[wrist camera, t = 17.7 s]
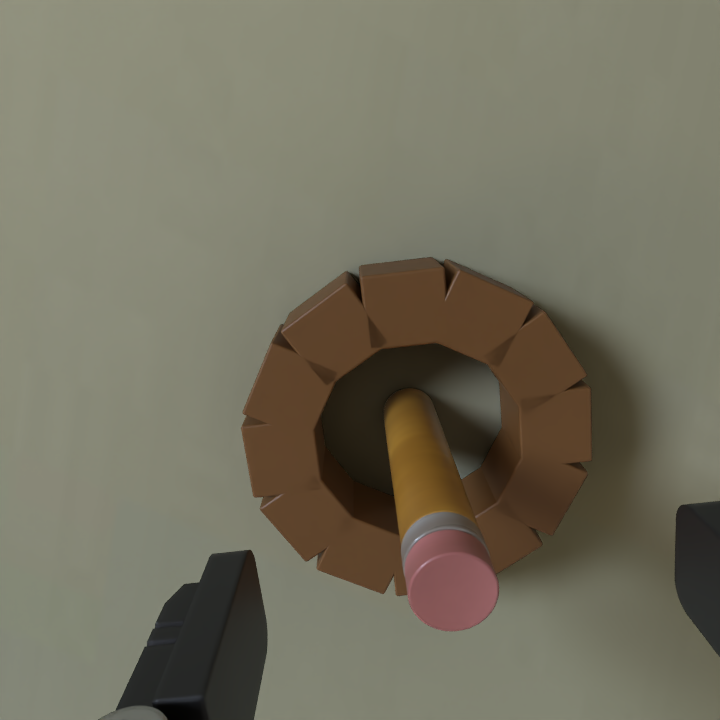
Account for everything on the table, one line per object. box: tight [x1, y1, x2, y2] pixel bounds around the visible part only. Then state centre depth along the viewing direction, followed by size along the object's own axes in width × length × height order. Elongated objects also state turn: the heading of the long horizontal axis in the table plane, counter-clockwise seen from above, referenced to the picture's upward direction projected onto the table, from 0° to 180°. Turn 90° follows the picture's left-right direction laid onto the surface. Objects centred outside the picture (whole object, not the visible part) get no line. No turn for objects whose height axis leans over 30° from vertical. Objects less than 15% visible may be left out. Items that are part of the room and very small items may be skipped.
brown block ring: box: [241, 257, 592, 596], centre depth 18 cm, size 10×10×2 cm
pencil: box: [383, 388, 499, 631], centre depth 15 cm, size 2×2×9 cm
